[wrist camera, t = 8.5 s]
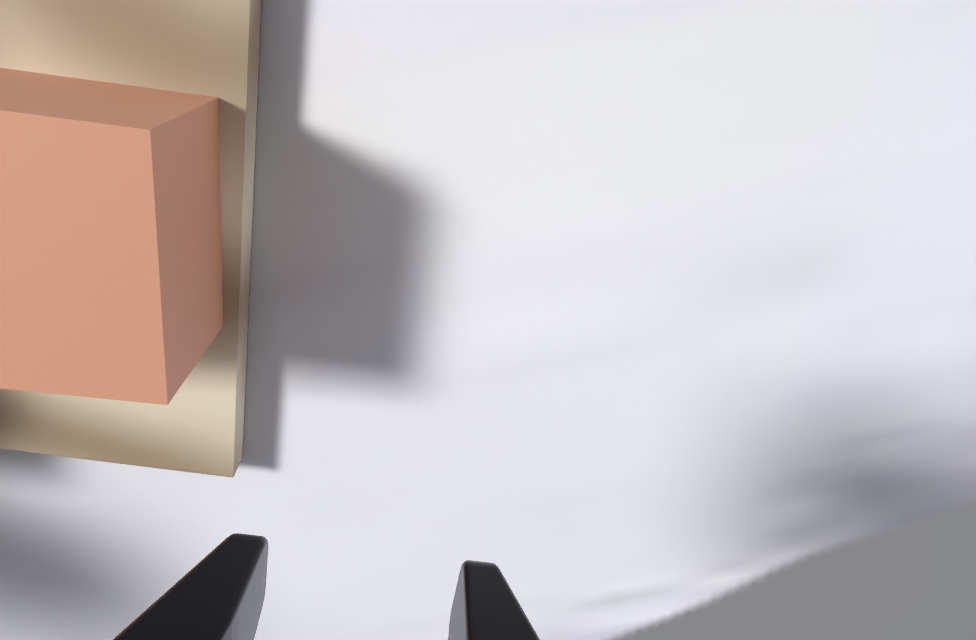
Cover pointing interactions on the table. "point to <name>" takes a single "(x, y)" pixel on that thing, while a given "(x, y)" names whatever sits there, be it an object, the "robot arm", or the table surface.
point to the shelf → (234, 80)
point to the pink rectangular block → (106, 236)
